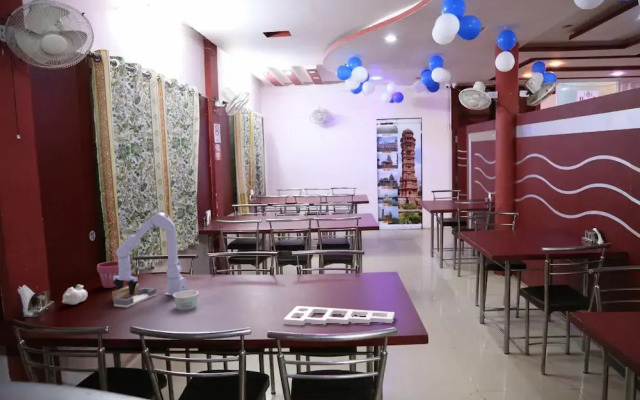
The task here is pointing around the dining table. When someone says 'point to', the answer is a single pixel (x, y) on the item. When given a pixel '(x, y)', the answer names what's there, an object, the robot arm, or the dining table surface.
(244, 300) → the dining table surface
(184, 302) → the food container
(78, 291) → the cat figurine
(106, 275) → the plant pot
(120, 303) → the cradle
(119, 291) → the oak slat
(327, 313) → the holder
